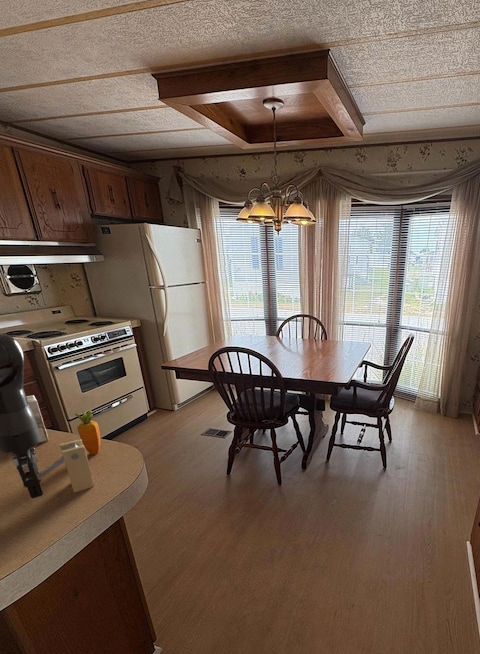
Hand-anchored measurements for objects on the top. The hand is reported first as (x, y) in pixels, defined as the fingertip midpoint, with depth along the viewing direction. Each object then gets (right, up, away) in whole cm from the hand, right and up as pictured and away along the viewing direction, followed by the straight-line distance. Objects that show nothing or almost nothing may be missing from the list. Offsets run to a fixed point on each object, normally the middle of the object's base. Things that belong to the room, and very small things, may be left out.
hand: (36, 489), depth 81 cm
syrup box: (-24, +8, +28) cm, 37 cm away
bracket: (+7, -2, +7) cm, 10 cm away
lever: (+4, +5, +2) cm, 7 cm away
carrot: (0, +4, +21) cm, 21 cm away
